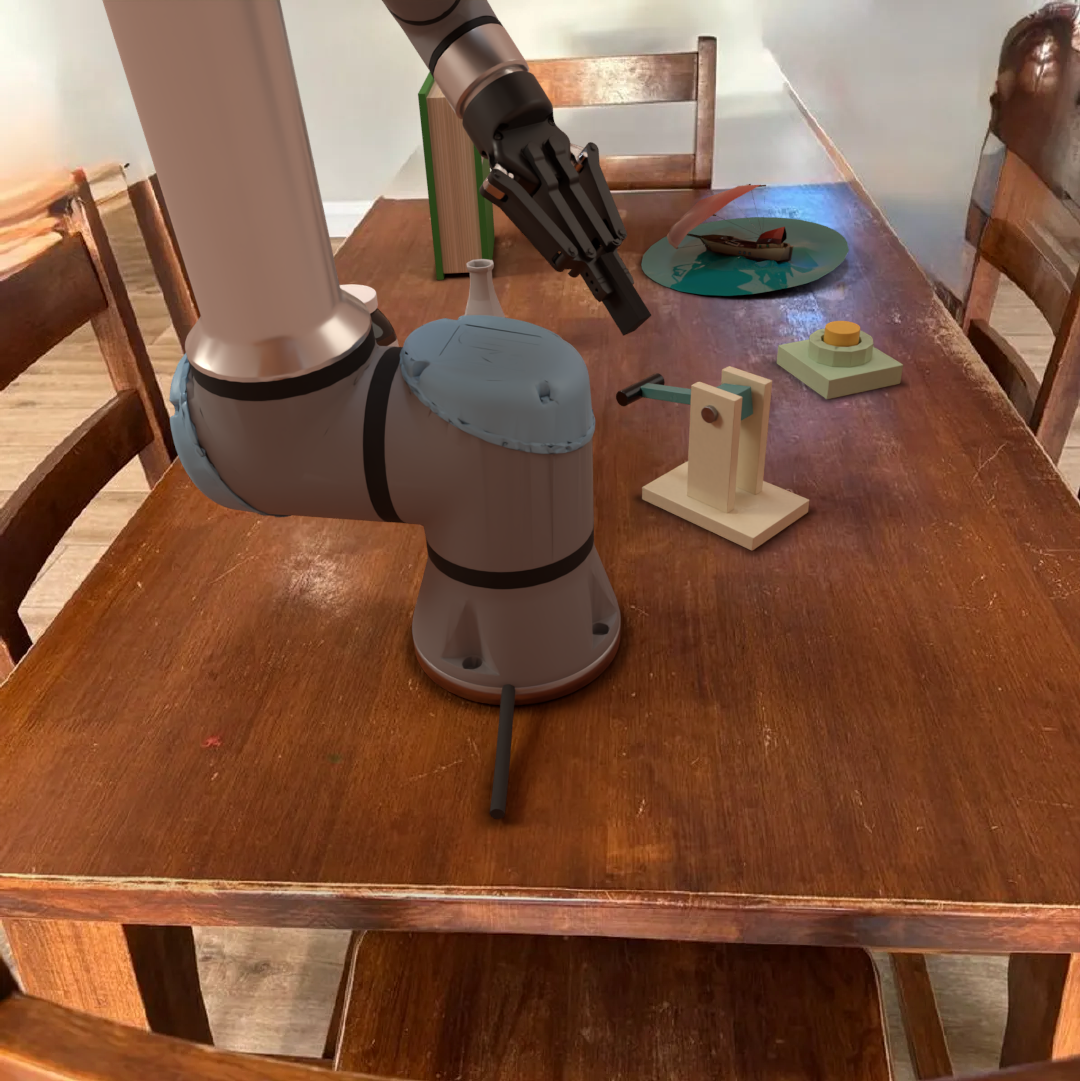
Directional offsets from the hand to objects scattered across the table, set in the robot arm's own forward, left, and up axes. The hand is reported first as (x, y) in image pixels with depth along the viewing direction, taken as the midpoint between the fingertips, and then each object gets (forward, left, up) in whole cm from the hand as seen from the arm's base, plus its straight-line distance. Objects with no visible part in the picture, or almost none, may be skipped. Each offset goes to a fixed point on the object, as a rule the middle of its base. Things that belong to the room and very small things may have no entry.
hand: (637, 325), depth 87 cm
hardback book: (+66, -3, -14) cm, 67 cm away
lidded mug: (+26, +23, -14) cm, 37 cm away
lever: (-5, -2, -6) cm, 9 cm away
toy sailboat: (+46, -37, -14) cm, 60 cm away
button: (+10, -28, -10) cm, 32 cm away
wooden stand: (-9, -4, -14) cm, 17 cm away
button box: (+10, -28, -14) cm, 33 cm away
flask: (+34, +4, -14) cm, 37 cm away
